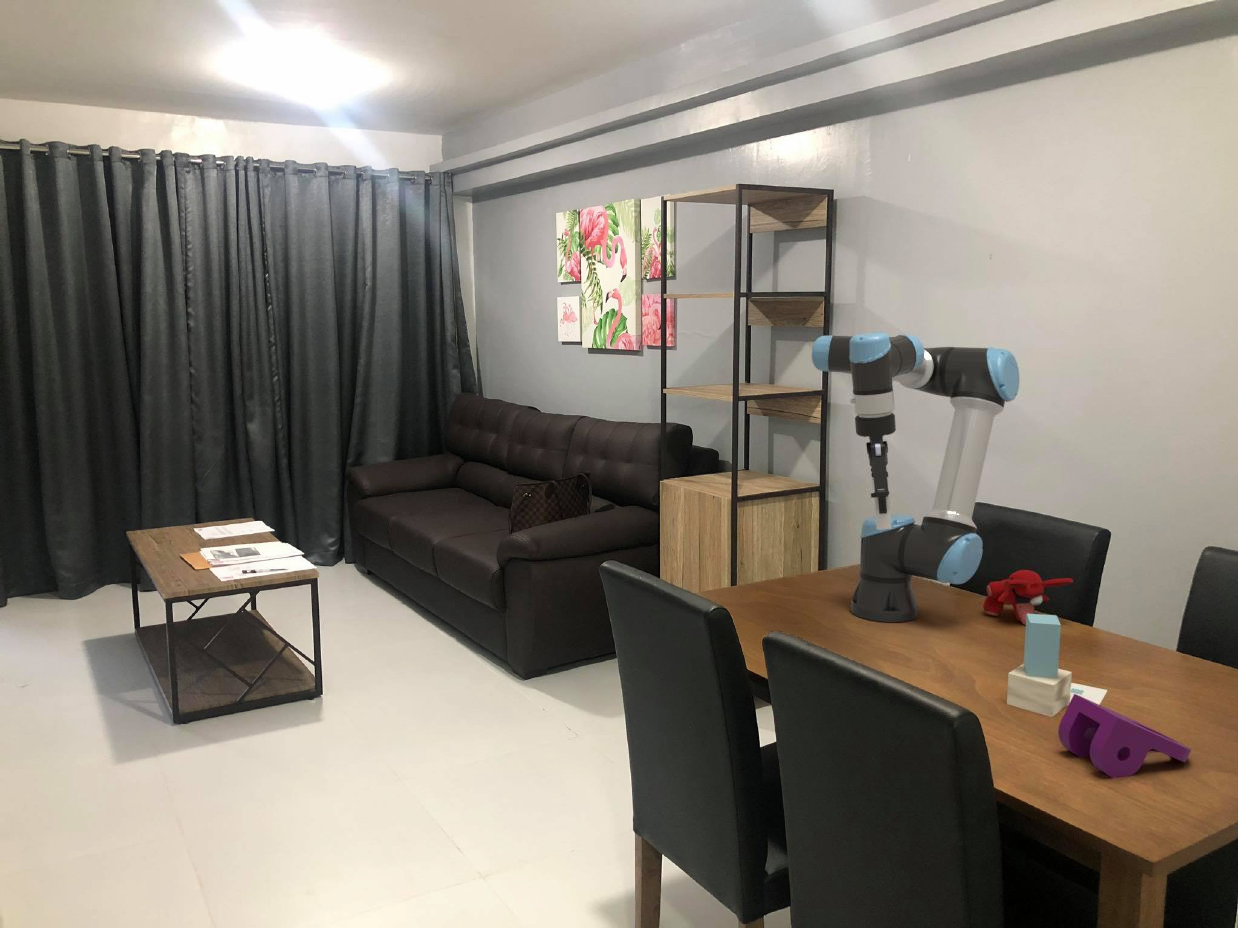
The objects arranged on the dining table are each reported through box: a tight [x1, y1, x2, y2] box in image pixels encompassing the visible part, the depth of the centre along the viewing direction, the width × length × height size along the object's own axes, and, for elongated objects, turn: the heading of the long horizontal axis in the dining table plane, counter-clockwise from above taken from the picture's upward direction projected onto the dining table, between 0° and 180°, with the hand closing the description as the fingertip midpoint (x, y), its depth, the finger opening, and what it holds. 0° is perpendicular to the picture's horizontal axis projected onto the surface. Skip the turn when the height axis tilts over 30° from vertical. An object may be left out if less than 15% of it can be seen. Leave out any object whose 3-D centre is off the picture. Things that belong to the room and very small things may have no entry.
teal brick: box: [1023, 613, 1062, 679], centre depth 175 cm, size 5×5×10 cm
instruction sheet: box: [1066, 682, 1108, 707], centre depth 181 cm, size 12×9×1 cm
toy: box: [982, 569, 1074, 626], centre depth 223 cm, size 16×12×16 cm
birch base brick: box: [1006, 662, 1073, 718], centre depth 176 cm, size 8×8×6 cm
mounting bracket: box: [1058, 694, 1192, 779], centre depth 155 cm, size 10×9×19 cm
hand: (882, 519), depth 194 cm, fingers open, 13 cm apart
